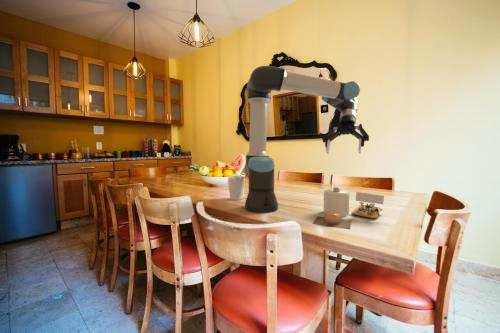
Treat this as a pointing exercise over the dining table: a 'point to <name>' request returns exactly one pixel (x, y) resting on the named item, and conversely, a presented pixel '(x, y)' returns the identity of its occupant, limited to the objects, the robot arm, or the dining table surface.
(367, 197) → the cake
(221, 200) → the dining table surface
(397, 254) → the dining table surface
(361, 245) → the dining table surface
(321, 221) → the board
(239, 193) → the cup
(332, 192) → the pot with lid
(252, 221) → the dining table surface
